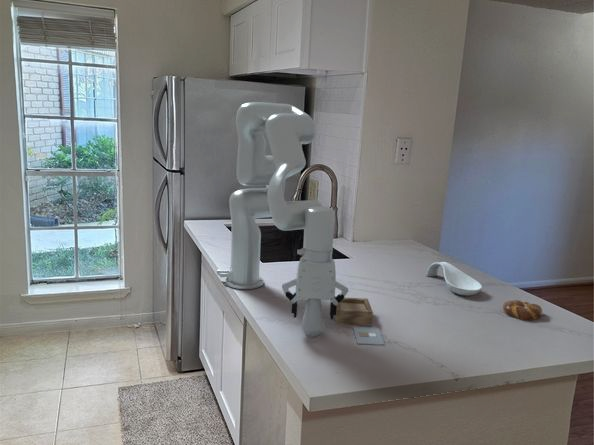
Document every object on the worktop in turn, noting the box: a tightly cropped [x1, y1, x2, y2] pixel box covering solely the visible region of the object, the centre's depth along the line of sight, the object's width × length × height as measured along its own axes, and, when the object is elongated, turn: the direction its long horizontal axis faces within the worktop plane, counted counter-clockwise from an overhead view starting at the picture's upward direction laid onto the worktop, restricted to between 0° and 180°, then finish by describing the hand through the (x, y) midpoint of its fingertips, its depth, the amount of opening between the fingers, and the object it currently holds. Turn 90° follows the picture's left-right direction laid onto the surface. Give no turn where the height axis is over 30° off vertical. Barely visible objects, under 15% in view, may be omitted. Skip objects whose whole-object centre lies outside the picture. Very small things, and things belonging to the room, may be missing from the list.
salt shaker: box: [301, 299, 325, 338], centre depth 137 cm, size 6×6×13 cm
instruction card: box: [352, 325, 386, 346], centre depth 138 cm, size 7×10×1 cm
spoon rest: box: [425, 261, 483, 297], centre depth 180 cm, size 24×12×7 cm, turn 23°
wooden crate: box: [333, 296, 374, 326], centre depth 150 cm, size 10×10×4 cm
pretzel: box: [502, 299, 543, 321], centre depth 160 cm, size 12×11×4 cm
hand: (313, 316), depth 137 cm, fingers open, 9 cm apart
